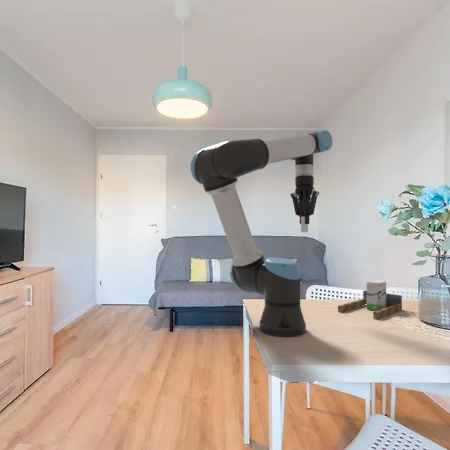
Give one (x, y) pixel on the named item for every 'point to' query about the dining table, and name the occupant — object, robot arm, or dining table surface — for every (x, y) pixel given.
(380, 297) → the ink box
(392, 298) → the guide channel
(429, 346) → the dining table surface
